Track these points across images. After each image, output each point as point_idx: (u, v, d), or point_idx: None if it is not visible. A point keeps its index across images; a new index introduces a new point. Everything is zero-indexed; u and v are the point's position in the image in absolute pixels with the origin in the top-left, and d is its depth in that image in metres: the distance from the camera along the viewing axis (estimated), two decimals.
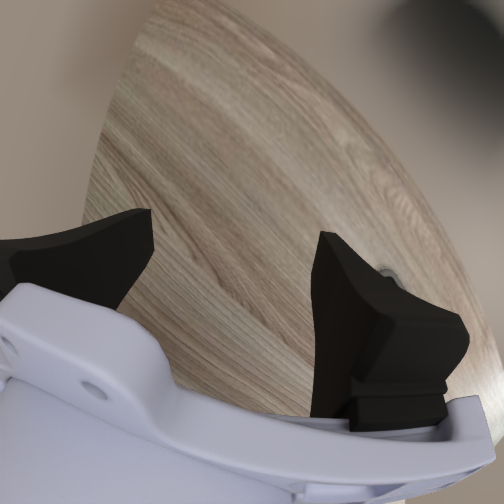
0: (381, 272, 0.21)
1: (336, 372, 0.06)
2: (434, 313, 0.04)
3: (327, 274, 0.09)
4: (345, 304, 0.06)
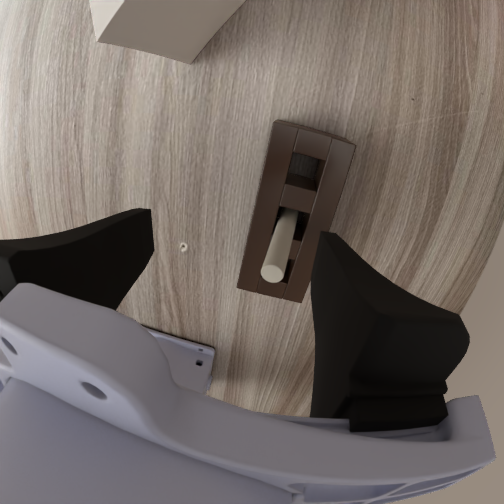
0: None
1: (336, 372, 0.06)
2: (434, 313, 0.04)
3: (327, 274, 0.09)
4: (345, 304, 0.06)
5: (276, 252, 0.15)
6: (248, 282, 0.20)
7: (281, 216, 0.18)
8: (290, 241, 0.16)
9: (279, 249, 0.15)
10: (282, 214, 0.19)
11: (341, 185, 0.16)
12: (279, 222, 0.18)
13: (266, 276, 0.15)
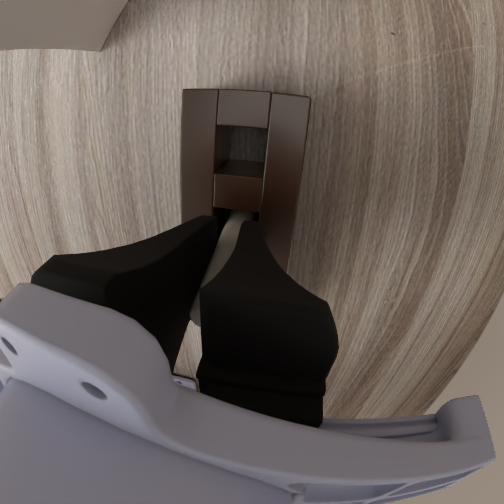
0: None
1: None
2: (286, 297, 0.05)
3: None
4: None
5: None
6: None
7: (227, 222, 0.13)
8: None
9: None
10: (228, 218, 0.13)
11: (299, 162, 0.10)
12: (223, 231, 0.12)
13: (199, 322, 0.09)
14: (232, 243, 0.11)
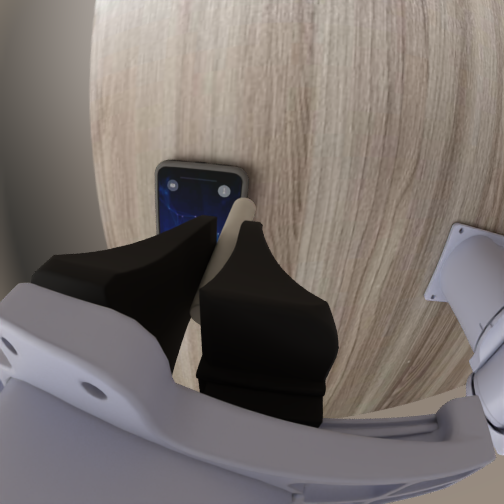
0: None
1: None
2: (285, 297, 0.05)
3: None
4: None
5: None
6: None
7: (227, 219, 0.13)
8: None
9: None
10: (229, 216, 0.13)
11: None
12: (223, 229, 0.12)
13: None
14: (232, 240, 0.11)
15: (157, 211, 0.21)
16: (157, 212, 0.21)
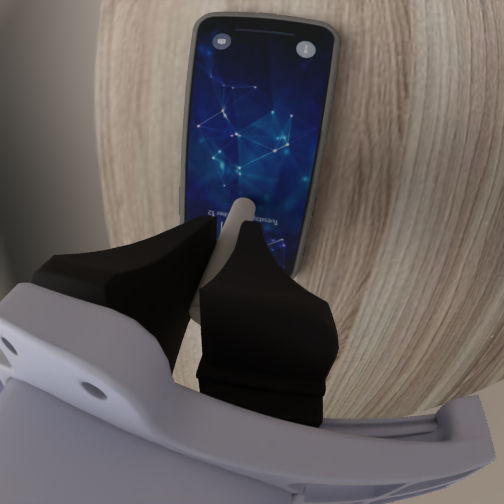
0: None
1: None
2: (285, 297, 0.05)
3: None
4: None
5: None
6: None
7: (227, 219, 0.13)
8: None
9: (216, 274, 0.10)
10: (228, 216, 0.13)
11: None
12: (223, 229, 0.12)
13: (199, 320, 0.09)
14: (232, 240, 0.11)
15: (190, 83, 0.12)
16: (189, 85, 0.12)
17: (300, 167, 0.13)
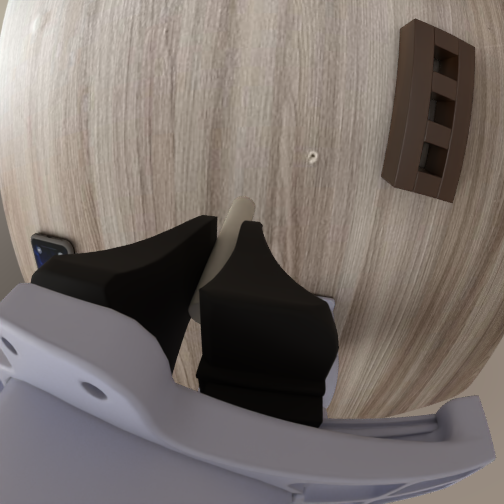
0: None
1: None
2: (286, 297, 0.05)
3: None
4: None
5: (210, 278, 0.09)
6: (406, 177, 0.16)
7: (226, 217, 0.13)
8: None
9: (216, 272, 0.10)
10: (228, 214, 0.13)
11: (472, 78, 0.11)
12: (222, 227, 0.12)
13: (198, 318, 0.09)
14: (232, 239, 0.11)
15: None
16: (37, 265, 0.27)
17: None
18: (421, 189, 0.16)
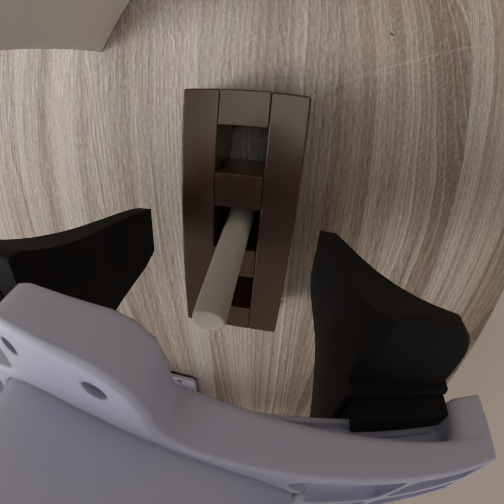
0: None
1: (336, 372, 0.06)
2: (434, 313, 0.04)
3: (327, 274, 0.09)
4: (345, 304, 0.06)
5: (212, 286, 0.10)
6: None
7: (228, 218, 0.13)
8: (238, 259, 0.11)
9: (217, 279, 0.10)
10: (229, 215, 0.13)
11: (299, 161, 0.11)
12: (224, 229, 0.12)
13: (201, 324, 0.10)
14: (233, 243, 0.12)
15: None
16: None
17: None
18: None
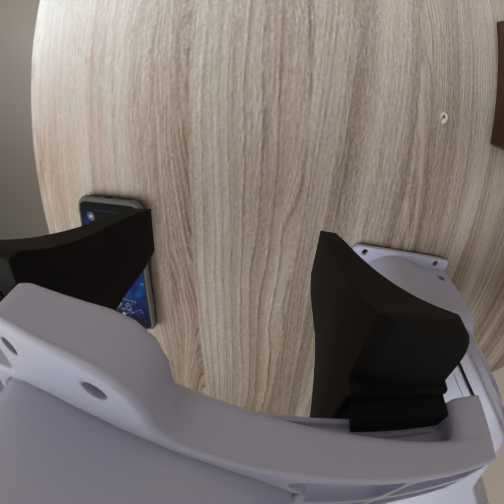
0: None
1: (336, 372, 0.06)
2: (434, 313, 0.04)
3: (327, 274, 0.09)
4: (345, 304, 0.06)
5: None
6: None
7: None
8: None
9: None
10: None
11: None
12: None
13: None
14: None
15: None
16: None
17: (138, 279, 0.25)
18: None
